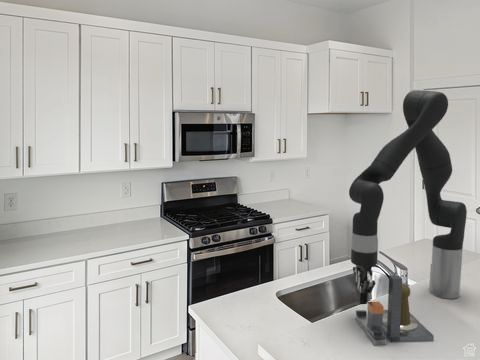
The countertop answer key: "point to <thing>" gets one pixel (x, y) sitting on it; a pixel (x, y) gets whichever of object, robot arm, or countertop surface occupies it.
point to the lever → (375, 317)
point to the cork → (405, 306)
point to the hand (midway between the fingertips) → (362, 303)
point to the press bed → (393, 316)
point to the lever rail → (375, 338)
